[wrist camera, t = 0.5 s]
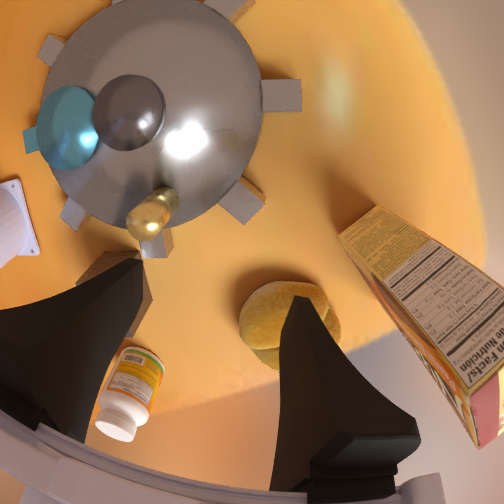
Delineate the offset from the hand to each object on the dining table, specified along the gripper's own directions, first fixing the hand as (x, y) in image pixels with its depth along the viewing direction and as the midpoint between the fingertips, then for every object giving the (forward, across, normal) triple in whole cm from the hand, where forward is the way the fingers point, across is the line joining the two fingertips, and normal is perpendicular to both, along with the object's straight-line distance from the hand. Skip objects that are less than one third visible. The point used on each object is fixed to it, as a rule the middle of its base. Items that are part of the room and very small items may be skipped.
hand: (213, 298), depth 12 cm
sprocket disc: (+10, +8, -6) cm, 14 cm away
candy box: (+10, -11, +2) cm, 15 cm away
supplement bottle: (+11, +8, +20) cm, 24 cm away
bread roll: (+11, -6, +9) cm, 15 cm away
